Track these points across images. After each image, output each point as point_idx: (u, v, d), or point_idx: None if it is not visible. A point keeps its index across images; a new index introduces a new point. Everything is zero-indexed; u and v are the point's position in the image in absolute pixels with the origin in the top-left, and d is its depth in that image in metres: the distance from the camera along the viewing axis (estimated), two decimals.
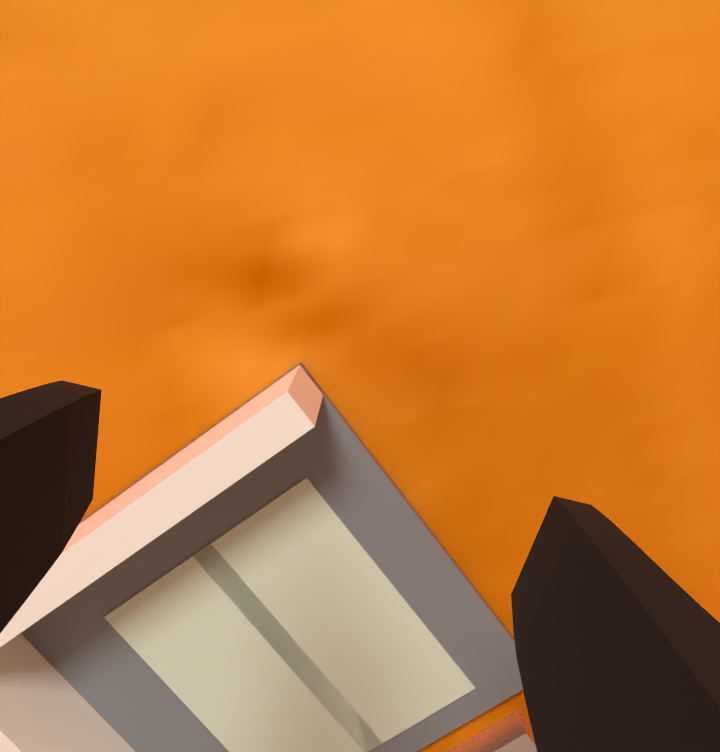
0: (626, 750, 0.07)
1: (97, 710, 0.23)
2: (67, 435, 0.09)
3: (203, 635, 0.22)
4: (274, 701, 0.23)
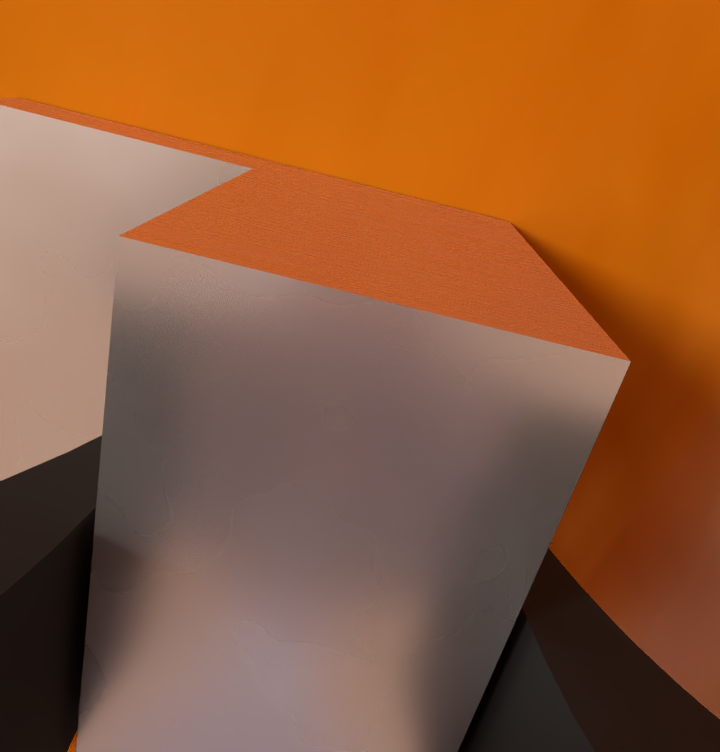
0: (486, 719, 0.07)
1: None
2: None
3: None
4: None
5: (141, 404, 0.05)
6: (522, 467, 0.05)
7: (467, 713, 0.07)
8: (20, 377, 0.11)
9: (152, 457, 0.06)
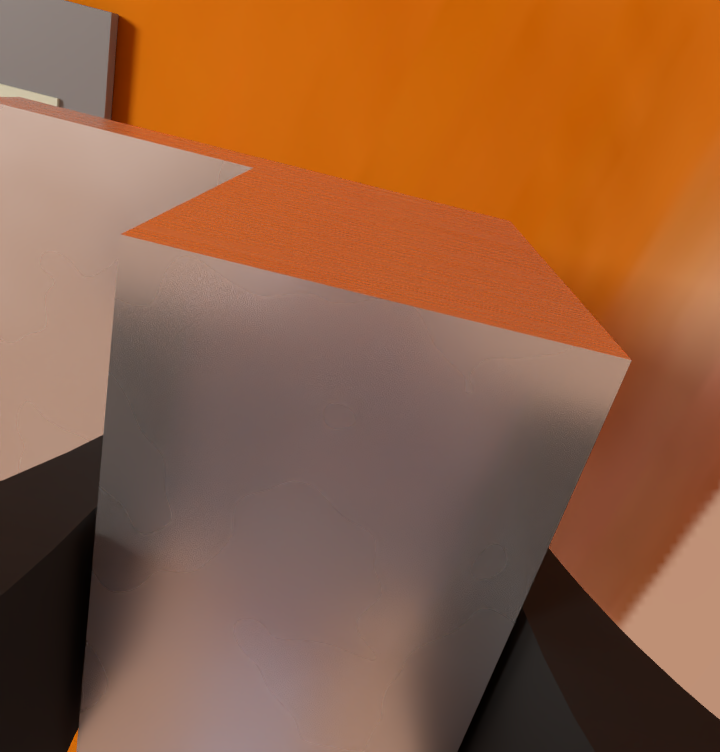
0: (486, 719, 0.07)
1: None
2: None
3: None
4: None
5: (142, 402, 0.05)
6: (523, 466, 0.05)
7: (467, 712, 0.07)
8: (21, 376, 0.11)
9: (153, 455, 0.06)
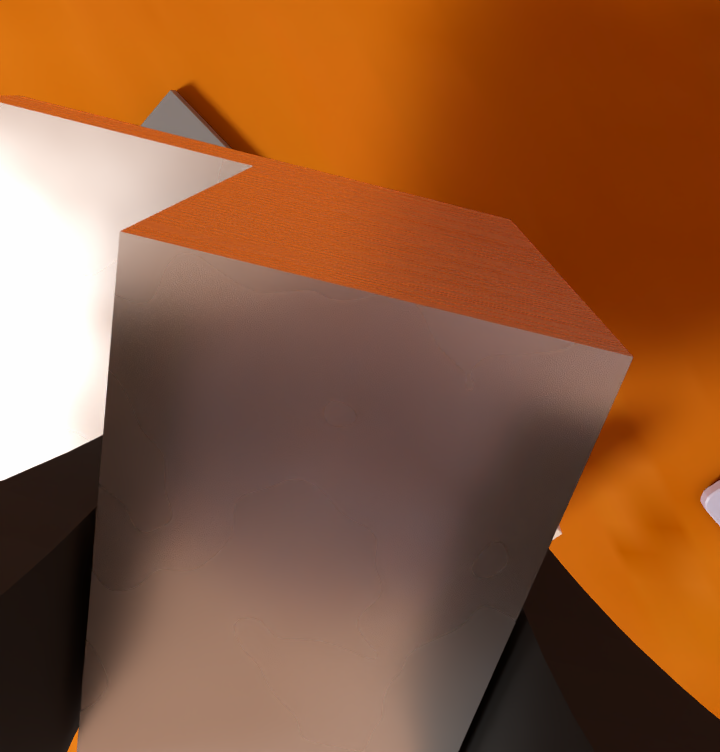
0: (486, 719, 0.07)
1: None
2: None
3: None
4: None
5: (142, 400, 0.05)
6: (524, 463, 0.05)
7: (469, 711, 0.07)
8: (21, 375, 0.11)
9: (153, 453, 0.06)
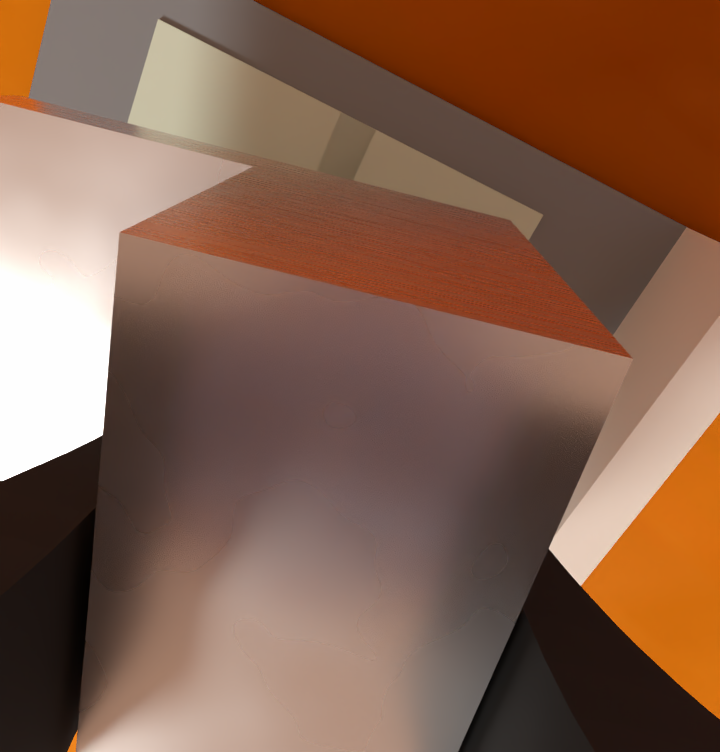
0: (486, 719, 0.07)
1: None
2: None
3: None
4: None
5: (142, 401, 0.05)
6: (524, 465, 0.05)
7: (469, 712, 0.07)
8: (20, 375, 0.11)
9: (153, 455, 0.06)
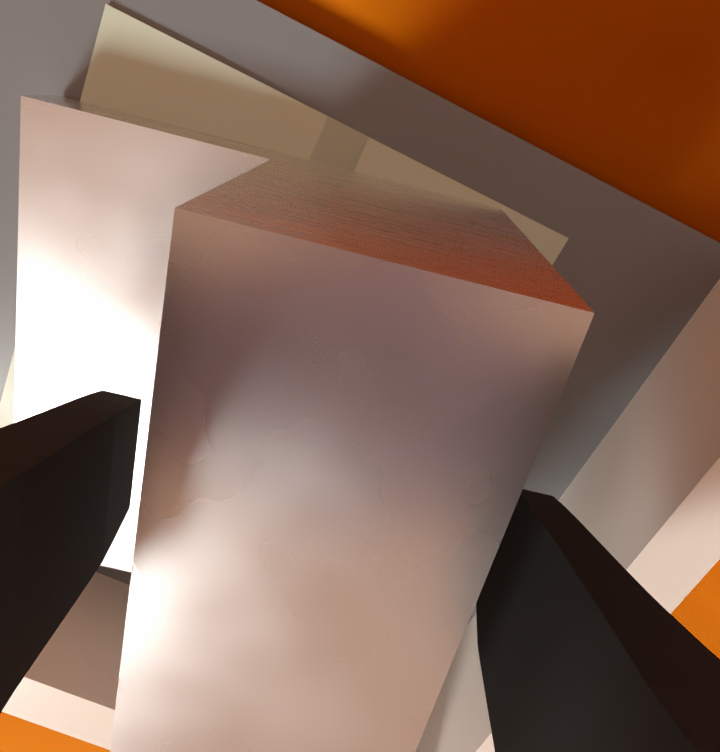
0: (571, 738, 0.07)
1: None
2: (111, 445, 0.09)
3: None
4: None
5: (188, 350, 0.06)
6: (506, 404, 0.06)
7: (461, 625, 0.08)
8: (56, 350, 0.12)
9: (196, 396, 0.07)
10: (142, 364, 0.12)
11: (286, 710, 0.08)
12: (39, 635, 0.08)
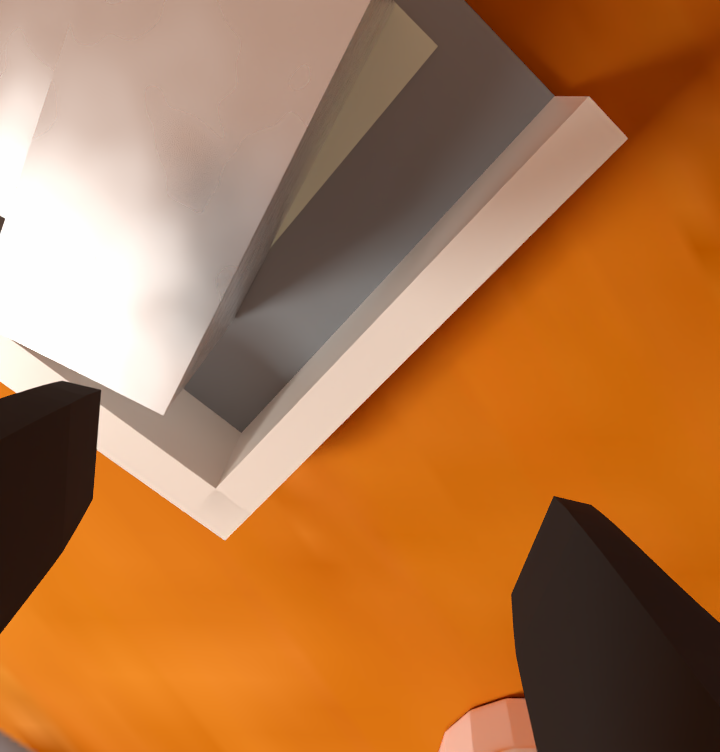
0: (626, 750, 0.07)
1: (336, 326, 0.18)
2: (67, 435, 0.09)
3: None
4: None
5: None
6: (328, 12, 0.10)
7: (269, 193, 0.11)
8: (20, 6, 0.14)
9: None
10: None
11: (134, 244, 0.12)
12: None
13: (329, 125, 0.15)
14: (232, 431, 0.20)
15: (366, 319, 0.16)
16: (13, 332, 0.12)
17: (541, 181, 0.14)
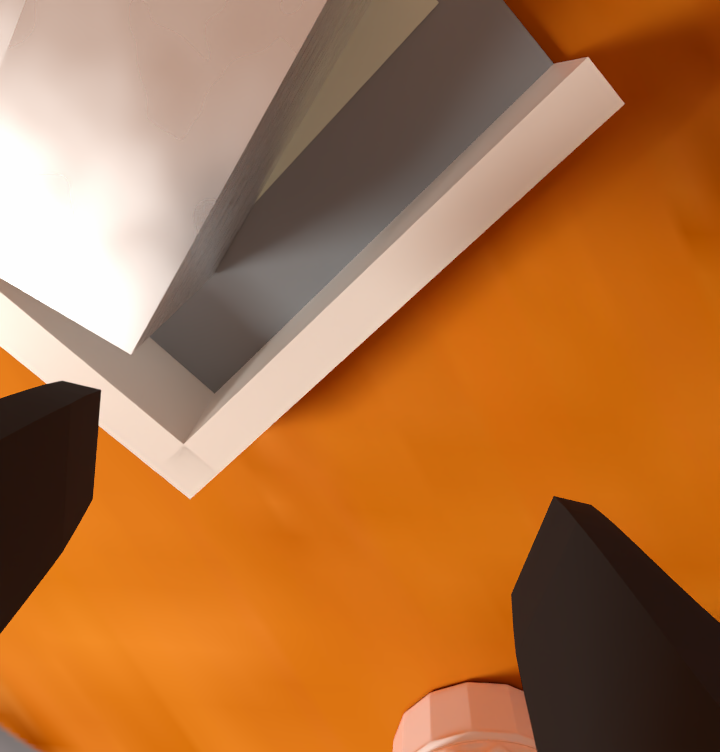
0: (626, 750, 0.07)
1: (318, 289, 0.18)
2: (67, 435, 0.09)
3: None
4: None
5: None
6: None
7: (254, 123, 0.11)
8: None
9: None
10: None
11: (109, 169, 0.11)
12: None
13: (322, 74, 0.15)
14: (205, 391, 0.19)
15: (348, 278, 0.16)
16: None
17: (535, 142, 0.13)
